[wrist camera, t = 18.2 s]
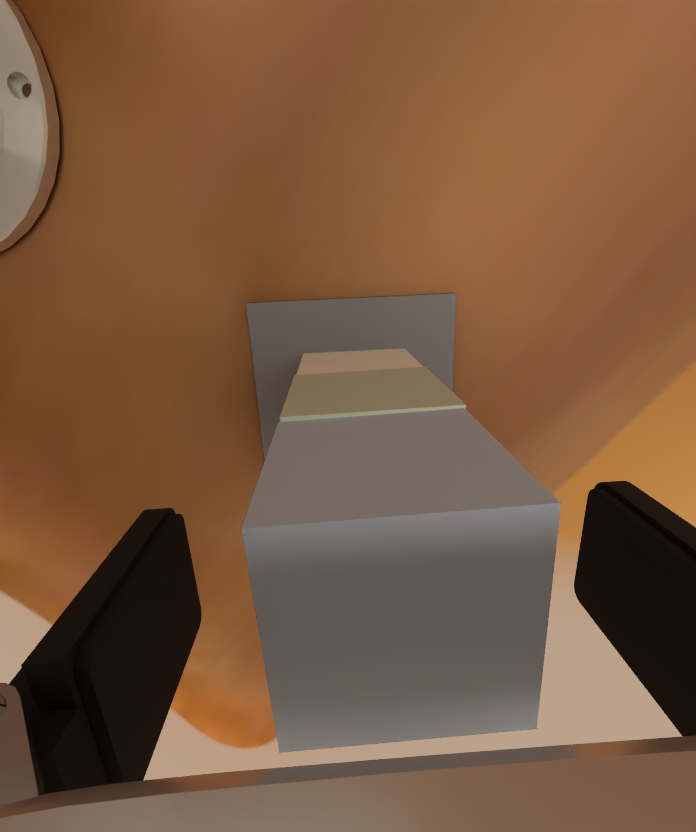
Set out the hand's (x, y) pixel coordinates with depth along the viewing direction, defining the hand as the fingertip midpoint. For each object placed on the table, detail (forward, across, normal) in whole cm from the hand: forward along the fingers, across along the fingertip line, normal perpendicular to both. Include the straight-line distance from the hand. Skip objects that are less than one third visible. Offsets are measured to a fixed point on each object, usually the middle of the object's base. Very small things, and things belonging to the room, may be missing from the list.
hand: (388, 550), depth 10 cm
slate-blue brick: (+2, 0, 0) cm, 2 cm away
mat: (+13, 0, 0) cm, 13 cm away
